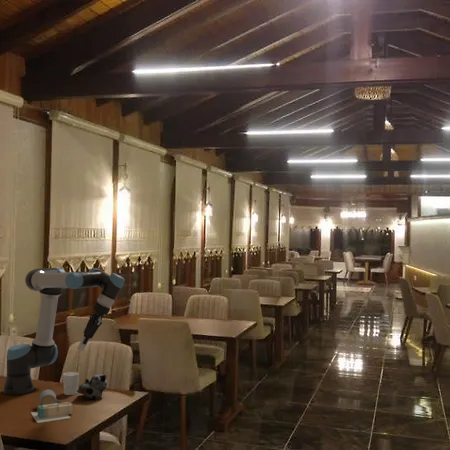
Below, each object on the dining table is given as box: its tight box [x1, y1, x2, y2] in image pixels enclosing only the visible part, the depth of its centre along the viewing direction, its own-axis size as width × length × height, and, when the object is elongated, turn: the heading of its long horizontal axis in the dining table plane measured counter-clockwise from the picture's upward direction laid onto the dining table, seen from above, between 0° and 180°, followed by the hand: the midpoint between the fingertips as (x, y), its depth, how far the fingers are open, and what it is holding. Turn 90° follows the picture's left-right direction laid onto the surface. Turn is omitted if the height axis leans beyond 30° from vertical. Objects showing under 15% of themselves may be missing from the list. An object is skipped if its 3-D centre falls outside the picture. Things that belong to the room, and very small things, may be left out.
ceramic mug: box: [38, 389, 63, 406], centre depth 269 cm, size 11×8×8 cm
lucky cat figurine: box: [77, 373, 108, 401], centre depth 286 cm, size 15×12×14 cm
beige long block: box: [37, 401, 73, 419], centre depth 257 cm, size 6×4×14 cm
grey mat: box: [30, 411, 71, 424], centre depth 256 cm, size 16×14×1 cm
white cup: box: [62, 371, 80, 396], centre depth 293 cm, size 8×8×10 cm
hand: (80, 349), depth 270 cm, fingers closed
